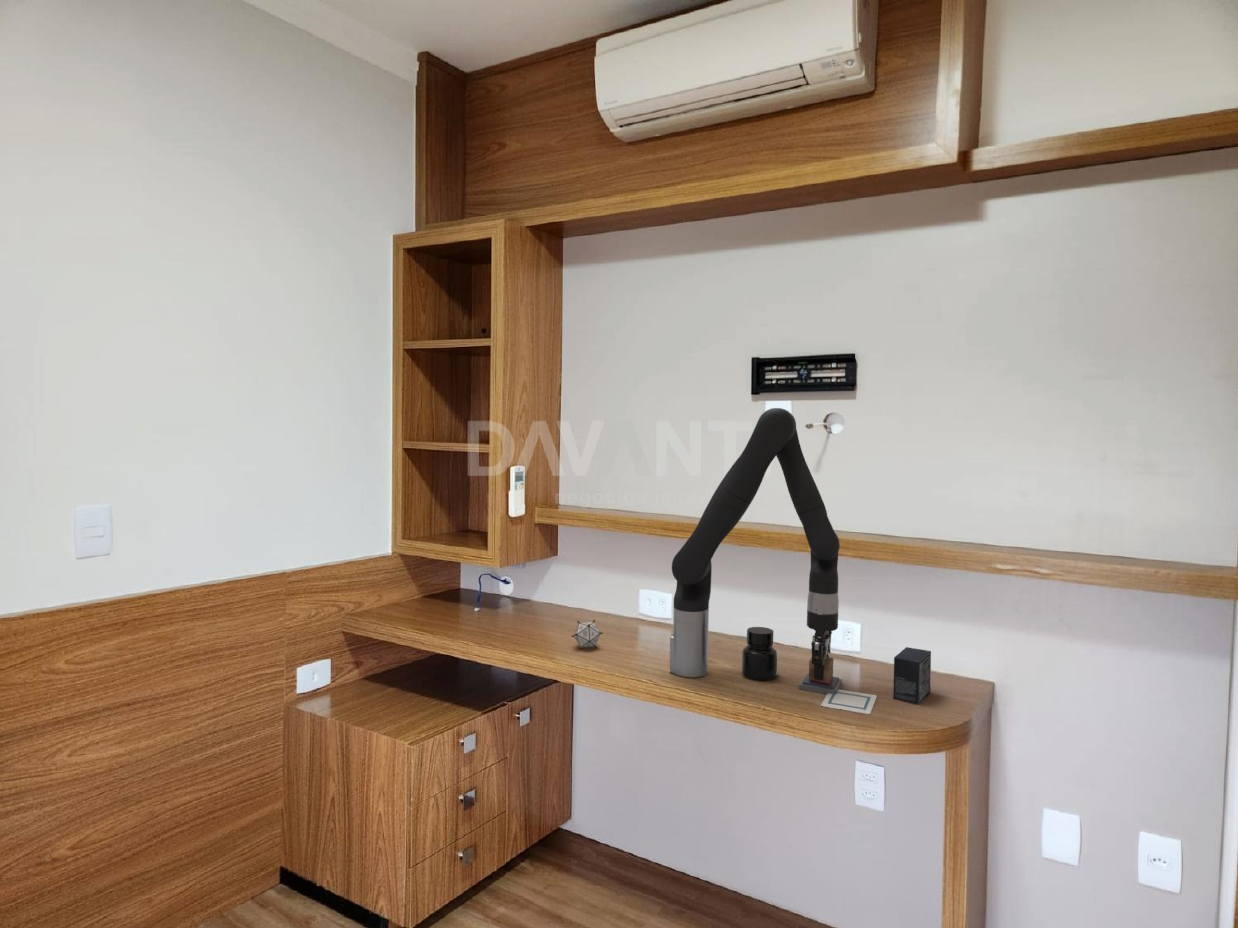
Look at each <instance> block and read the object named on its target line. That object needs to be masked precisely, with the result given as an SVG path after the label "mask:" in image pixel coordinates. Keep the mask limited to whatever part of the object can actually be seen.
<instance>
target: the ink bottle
mask: <svg viewBox="0 0 1238 928" xmlns="http://www.w3.org/2000/svg"><path fill="white" fill-rule="evenodd" d="M746 644H747V645H746V646H744V647H743V650H742V655H741V656H742V657H741V658H742V660H741V664H742V665H741V666H742V667H741V674H742V675H743V676H744V677H745V678H747V679H751V680H754V681H769V680H772V679H775V678H776V677H777V674H778V652H777V649H775V648H774V647H773V646H774V630H773V629H772V628H769V627H763V626H752V627H748V628H747V630H746Z"/></svg>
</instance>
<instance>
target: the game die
mask: <svg viewBox="0 0 1238 928" xmlns="http://www.w3.org/2000/svg"><path fill="white" fill-rule="evenodd" d="M576 621H577V622H576V623H577V627H576V628H575V632H574V634H572V635H571V637H572V638H574V639H575V641H576V643H577V644H578V646H579V647H578V650H579V651H580V650H581V649H582V648H583V649H584V648H594V649H598V648H597V643H598V641H599V638H600V635H603V634H604V633H603V632H602V631H600V630H599V628H598V626H597V625H596V623H595V622H596V619H593V621H590V622H589V621H588V622H587V621H585V622H580V621H579V620H576Z"/></svg>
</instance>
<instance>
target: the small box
mask: <svg viewBox="0 0 1238 928" xmlns="http://www.w3.org/2000/svg"><path fill="white" fill-rule="evenodd" d="M931 664H932V651H931V650H928V649H920V648H913V647H908V646H906V647H905V648H904V649H902V650H901V651H900V652H899V653H897V654H896V655H894V657H893V689H892V691H893V692H892V699H894V700H895V701H896V700H897V701H900V702H906V703H911V704H914V705H920V704H921V703H922V702H924V700H925V699H926V697H928V696H929V694H931V687H932V686H931V675H932V674H931V670H932V665H931Z"/></svg>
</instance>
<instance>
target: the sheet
mask: <svg viewBox="0 0 1238 928" xmlns="http://www.w3.org/2000/svg"><path fill="white" fill-rule="evenodd" d="M877 696H878V695H876V694H872V693H871V694H869V693H866V692H865V693H864V692H863V693H862V692H858V691H851V690H846V689H841V688H840V689H839V690H838V692H837V694H830V693H828V694H825V697H824V699H823V701H822V702H821V705H820V707H821V706H823V707H822V708H827V707H828V709H834V710H839V709H842V710H841V711H845V710H846V712H852V713H857V714H862V715H864V714H865V715H868V714H869V715H868V716H870V715H871V714H872V710H873V708H874V706H875V705H874V704H875V702H876V700H877Z"/></svg>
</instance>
